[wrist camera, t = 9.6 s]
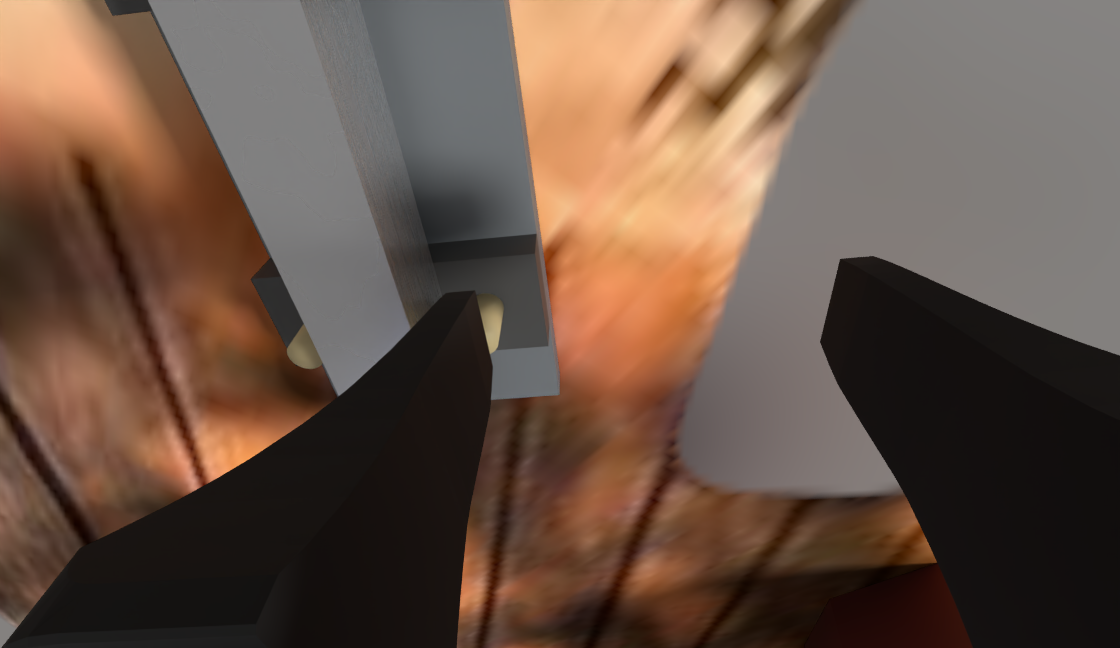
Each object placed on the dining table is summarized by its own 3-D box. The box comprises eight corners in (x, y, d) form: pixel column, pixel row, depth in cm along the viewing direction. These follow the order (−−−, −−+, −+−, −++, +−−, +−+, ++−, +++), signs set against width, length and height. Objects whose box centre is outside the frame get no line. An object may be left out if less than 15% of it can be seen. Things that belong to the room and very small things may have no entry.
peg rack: (559, 372, 25) (558, 456, 21) (354, 388, 25) (314, 472, 21) (439, -508, 11) (365, -781, 7) (-14, -425, 11) (-333, -628, 7)
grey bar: (495, 430, 23) (486, 500, 20) (396, 437, 23) (373, 506, 20) (245, -559, 9) (92, -801, 6) (-1, -512, 9) (-259, -720, 6)
